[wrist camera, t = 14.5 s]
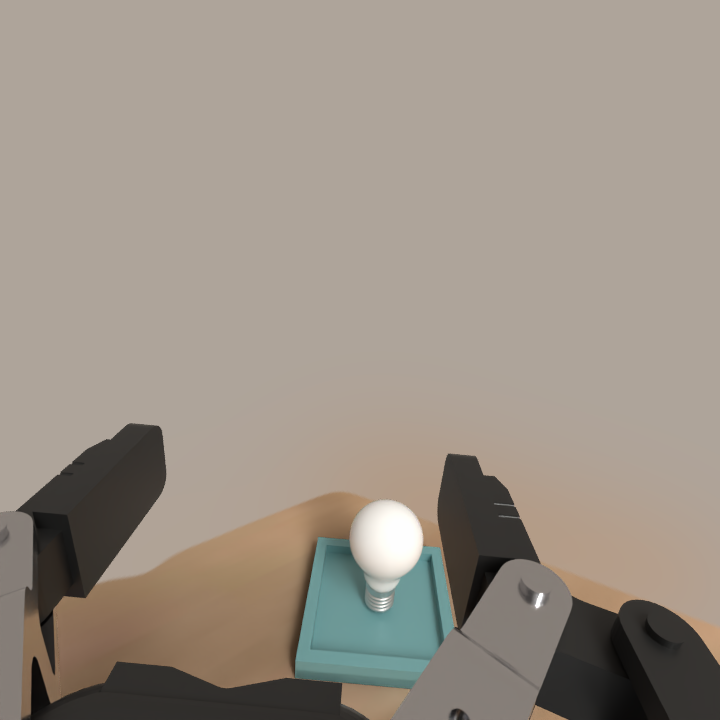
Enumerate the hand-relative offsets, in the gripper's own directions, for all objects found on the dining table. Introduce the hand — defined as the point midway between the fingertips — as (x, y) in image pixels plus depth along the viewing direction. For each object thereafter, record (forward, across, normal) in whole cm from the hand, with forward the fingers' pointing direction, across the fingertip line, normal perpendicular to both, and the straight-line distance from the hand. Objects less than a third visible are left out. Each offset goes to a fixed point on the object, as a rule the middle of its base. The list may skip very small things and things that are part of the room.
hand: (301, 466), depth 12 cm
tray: (+18, -5, +29) cm, 35 cm away
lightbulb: (+18, -5, +28) cm, 34 cm away
